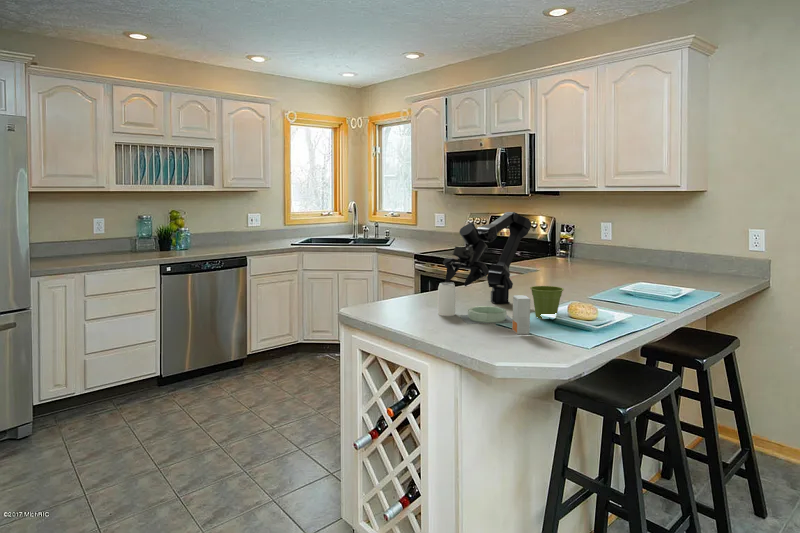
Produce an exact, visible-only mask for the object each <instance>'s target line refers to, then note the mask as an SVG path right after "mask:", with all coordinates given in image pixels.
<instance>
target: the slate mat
mask: <svg viewBox="0 0 800 533" xmlns="http://www.w3.org/2000/svg"><path fill="white" fill-rule="evenodd" d="M458 317H460V319H462V321H463V322H465V323H466V325H477V324H478V325H482V324H484V325H486V324H487V325H488V324H489V325H490V324H491V323H481V322H475V321H472V320H470V319H469V316H468V314H458ZM512 318H513V317H510V316H509V315H507V314H506V320H505V321H503V322H499V323H498V324H512Z"/></svg>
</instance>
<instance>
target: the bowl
mask: <svg viewBox="0 0 800 533" xmlns="http://www.w3.org/2000/svg"><path fill="white" fill-rule="evenodd" d="M467 315H468V316H469V319H470V320H472V321H475V322H481V323H490V324H500V323H499V322H503V321H505V320H506V315H507V310H506V309H505V308H502V307H498V306H491V305H490V306H489V305H481V306H479V305H477V306H471V307H469V308H468V309H467Z"/></svg>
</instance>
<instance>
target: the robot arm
mask: <svg viewBox="0 0 800 533" xmlns="http://www.w3.org/2000/svg"><path fill="white" fill-rule="evenodd" d="M507 227H508V230H509V236H508V237H507V238H508V239H507V240H506V244H505V245H504V248H503V250H502V252H501V255H500V257H499V259H498V262H497V263H496V264H495V263H493V264H491V265H490V267H489V268H488V267H487V265H486V264H485V262H484V261H481V256H482V254H483V253H484V252H485V253H488V252H489V248H488V245H487V244H486V243H493V242H494V241H495V239H496V238H497V237H498V233H500V232H501V231H503V230H504V229H506V228H507ZM531 228H532V222H531V220H530V219H529V218H528V217H526V216H523V215H521V214H518V213H517V212H515V211H506V212H504V213H503V215H501V216H499V217H498V218H497V219H495V220H493V221H492V222H491V223H488V224H483V225H481V226H478V227H476V225H475V223H474V222H468V223H467V224H465V225H463V226H462V227H461V228H460V229H459V235H460V237H461V238H462V239H463V241H464V242H465V244H466V245H468V246H467V247H463V246H455V247H454V250H453V252H452V255H453V256H455V257H456V258H457V260H458V262H457V261H456V260H455V258H451V257H450V258H449V257H445V258H444V260H443V261H442V264H443V265H444V267H445V268H446V274H445V280H444V282H450V281H451V280H452V279H453V278H454V277H455V276H456V275H457V272H458V271H459V269H464V270H466V271H467V270H469V271H470V272H469V273H468V275H467V277H466V278H465V281H464V283H463V286H465V287H467V286H469V285H470V284H472V283H474V282H475V281H477V280H479V279H481V278H484V277H485V278H486V279H487V284H488V288H491V290H490V302H491V303H493V304H496V305H498V304H500V305H501V304H503V305H504V304H510V303H511V302H510V301H509V295H510V294H509V293H510V290H511V289H513V285H514V283H513V281H512V279H511V278H510V277H511V272H510V266H511V264H512V261H513V258H514V257H515V256H516V255H515V254H516V252H517V249H518V248H519V245H520V242H521V240H522V239H523V238H525V237H526V236H527V235H528V234H529V232H530V231H531ZM485 242H486V243H485Z"/></svg>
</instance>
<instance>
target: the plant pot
mask: <svg viewBox="0 0 800 533" xmlns="http://www.w3.org/2000/svg"><path fill="white" fill-rule="evenodd" d="M529 288H530V290H531V294H532V298H533V304H534V305H533V306H534V314H535V318H536V317H538V318H541V319H540V320H543V319H542V317H541V316H540V315H541V314H555V313H557V314H558V312H559V311H558V310H559V306H560V300H561V297H562V293H563V292H564V290H565V289H564V288H563V287H560V286H551V285H534V286H531V287H529ZM538 318H537V319H538Z"/></svg>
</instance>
